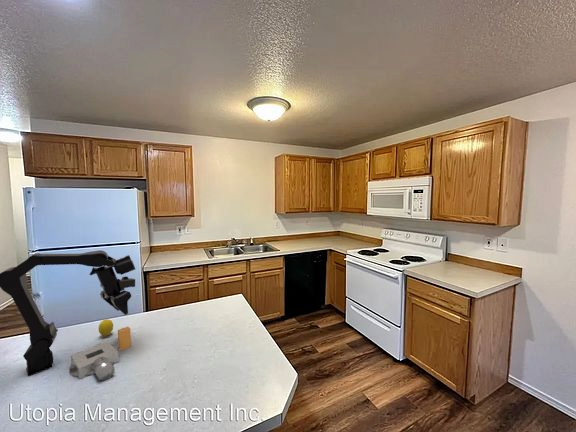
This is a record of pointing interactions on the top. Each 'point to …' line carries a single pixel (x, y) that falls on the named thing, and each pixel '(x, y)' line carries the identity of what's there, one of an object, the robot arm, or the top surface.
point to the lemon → (105, 327)
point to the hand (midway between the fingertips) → (122, 312)
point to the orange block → (124, 338)
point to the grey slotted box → (95, 362)
